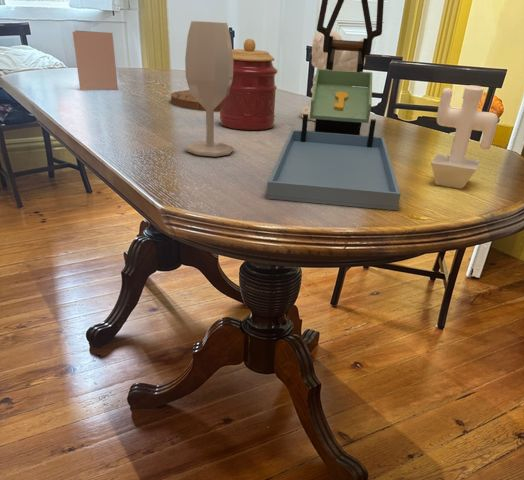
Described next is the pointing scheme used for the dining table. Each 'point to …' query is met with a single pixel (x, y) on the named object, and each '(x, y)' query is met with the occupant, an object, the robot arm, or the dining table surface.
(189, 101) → the trivet
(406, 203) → the dining table surface
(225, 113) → the kitchen canister
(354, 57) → the cherub figurine
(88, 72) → the greeting card
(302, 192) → the tray
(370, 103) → the green dustpan
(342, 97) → the key
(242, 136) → the dining table surface
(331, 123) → the stand
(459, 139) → the figurine
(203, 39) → the wineglass
